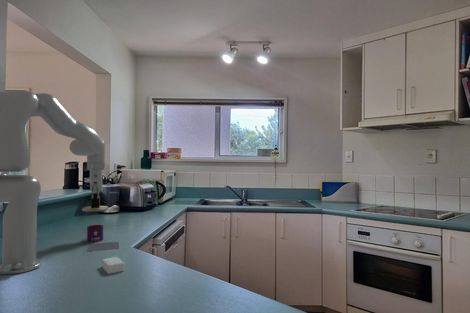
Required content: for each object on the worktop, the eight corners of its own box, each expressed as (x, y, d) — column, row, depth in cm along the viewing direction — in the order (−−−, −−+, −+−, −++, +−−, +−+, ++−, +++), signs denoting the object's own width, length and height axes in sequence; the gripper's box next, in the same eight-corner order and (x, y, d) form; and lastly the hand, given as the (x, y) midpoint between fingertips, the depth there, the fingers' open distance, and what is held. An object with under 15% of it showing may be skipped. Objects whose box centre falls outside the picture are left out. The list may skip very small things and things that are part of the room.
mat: (119, 249, 129) (119, 248, 129) (87, 252, 125) (87, 251, 125) (118, 242, 140) (118, 241, 140) (89, 244, 136) (89, 244, 136)
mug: (87, 243, 138) (87, 228, 138) (86, 238, 147) (86, 224, 147) (103, 242, 141) (103, 226, 141) (101, 237, 150) (102, 223, 150)
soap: (125, 271, 104) (125, 262, 104) (107, 275, 101) (108, 265, 101) (117, 264, 112) (117, 255, 112) (101, 267, 108) (101, 258, 108)
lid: (108, 210, 141) (108, 197, 141) (81, 211, 137) (81, 198, 137) (108, 207, 151) (108, 195, 152) (83, 208, 147) (83, 196, 148)
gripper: (104, 167, 138) (103, 208, 138) (105, 166, 154) (104, 203, 153) (85, 167, 135) (85, 209, 135) (88, 166, 151) (87, 204, 151)
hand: (95, 206), depth 144 cm, fingers closed on lid, 3 cm apart
